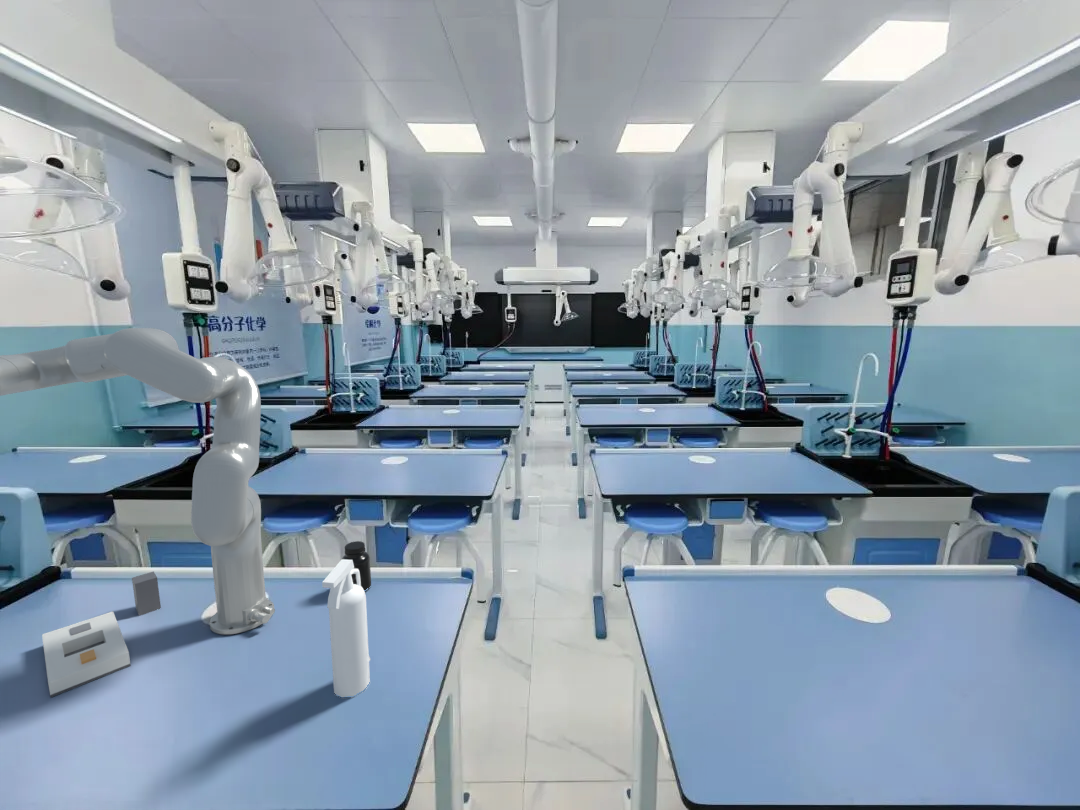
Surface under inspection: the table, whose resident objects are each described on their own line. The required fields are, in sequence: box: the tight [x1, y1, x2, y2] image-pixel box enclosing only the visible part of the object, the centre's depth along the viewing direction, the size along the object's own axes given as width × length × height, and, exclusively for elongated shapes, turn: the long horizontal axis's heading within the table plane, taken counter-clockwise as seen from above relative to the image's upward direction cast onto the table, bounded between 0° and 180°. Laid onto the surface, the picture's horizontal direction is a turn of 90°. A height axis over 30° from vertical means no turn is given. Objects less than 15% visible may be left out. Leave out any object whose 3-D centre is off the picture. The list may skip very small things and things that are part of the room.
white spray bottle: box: [321, 558, 371, 697], centre depth 87 cm, size 7×12×25 cm, turn 173°
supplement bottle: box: [341, 540, 372, 590], centre depth 120 cm, size 7×7×12 cm
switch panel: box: [41, 611, 131, 698], centre depth 95 cm, size 20×11×4 cm, turn 48°
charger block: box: [131, 571, 162, 617], centre depth 111 cm, size 4×4×8 cm
